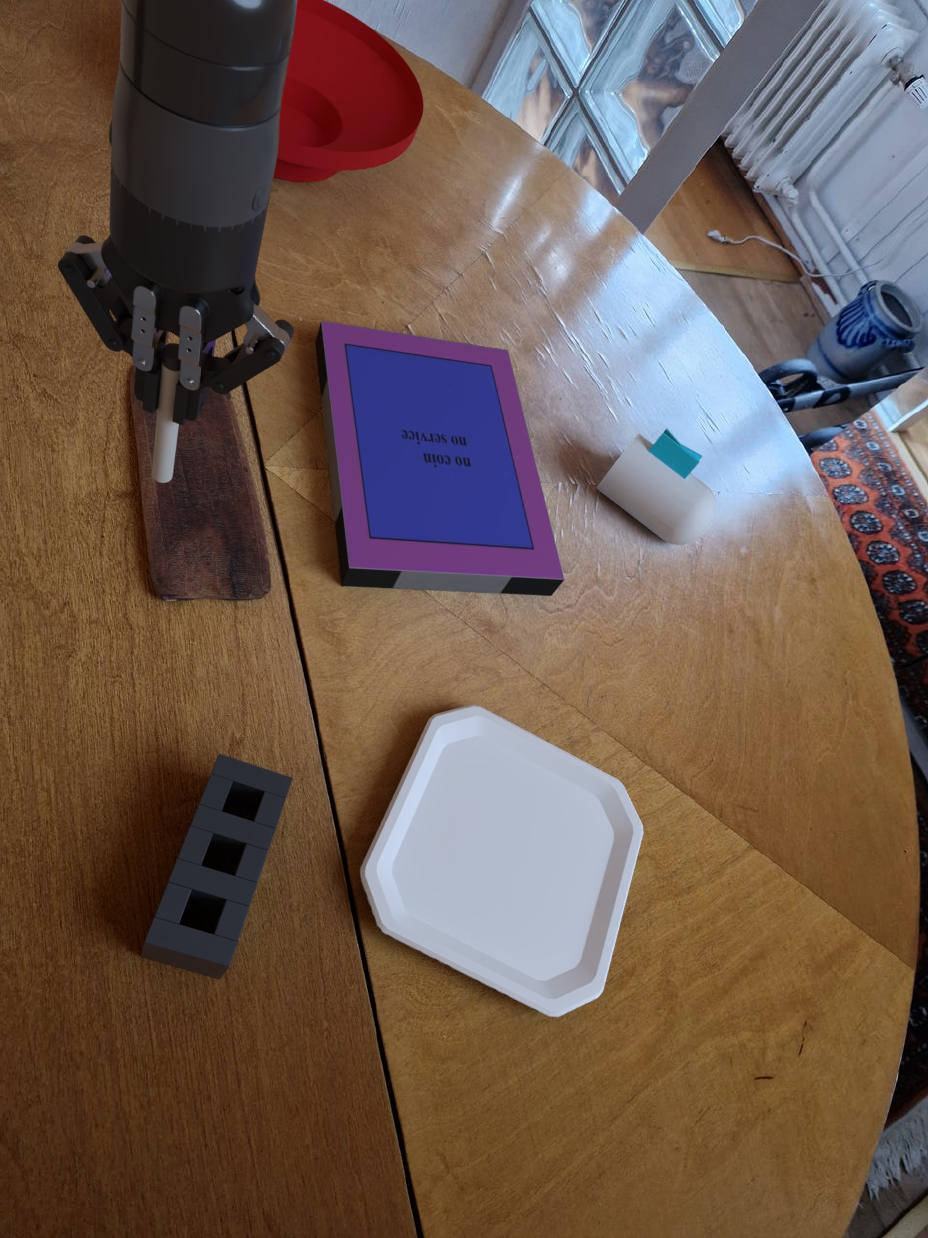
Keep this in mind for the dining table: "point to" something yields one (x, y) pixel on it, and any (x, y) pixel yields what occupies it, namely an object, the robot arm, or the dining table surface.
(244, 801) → the pen block
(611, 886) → the plate
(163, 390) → the stylus
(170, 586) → the wooden tablet
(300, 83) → the bowl
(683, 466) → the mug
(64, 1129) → the dining table surface
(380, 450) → the book
